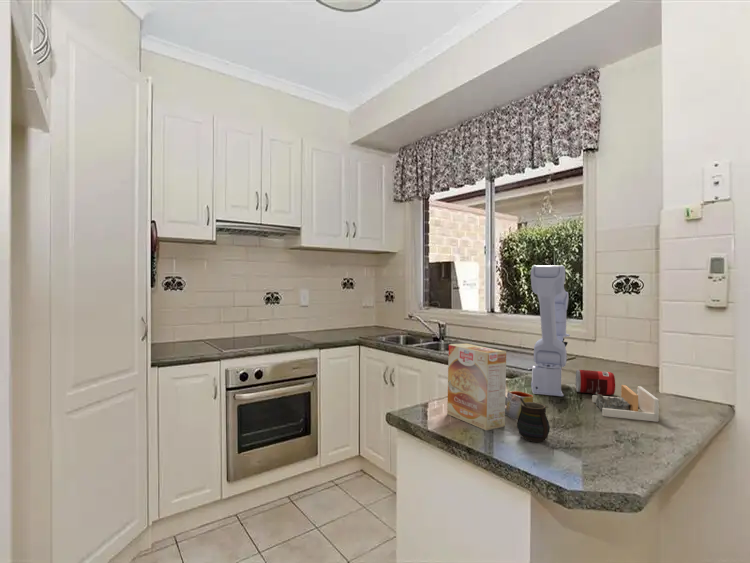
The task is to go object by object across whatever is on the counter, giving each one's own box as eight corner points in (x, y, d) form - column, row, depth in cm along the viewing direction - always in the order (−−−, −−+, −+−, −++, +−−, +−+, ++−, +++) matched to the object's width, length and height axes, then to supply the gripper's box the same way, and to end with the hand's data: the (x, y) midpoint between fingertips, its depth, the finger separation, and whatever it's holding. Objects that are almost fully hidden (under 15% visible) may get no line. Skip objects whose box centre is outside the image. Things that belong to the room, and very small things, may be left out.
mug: (537, 417, 115) (538, 393, 115) (529, 423, 110) (530, 398, 110) (495, 408, 123) (496, 386, 123) (486, 413, 117) (486, 390, 117)
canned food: (609, 374, 146) (575, 371, 149) (614, 370, 139) (578, 367, 142) (611, 397, 143) (575, 393, 147) (616, 393, 136) (578, 390, 140)
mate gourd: (556, 441, 97) (557, 398, 97) (535, 447, 94) (536, 402, 94) (530, 431, 104) (531, 391, 104) (509, 436, 100) (510, 394, 100)
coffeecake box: (446, 414, 116) (447, 344, 116) (465, 410, 120) (466, 342, 120) (485, 431, 103) (487, 352, 103) (506, 426, 107) (507, 350, 107)
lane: (602, 415, 118) (603, 394, 118) (592, 401, 132) (592, 382, 132) (658, 421, 113) (658, 399, 114) (640, 406, 128) (641, 386, 128)
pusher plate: (633, 416, 117) (633, 395, 117) (621, 404, 129) (621, 384, 129) (637, 417, 116) (638, 395, 116) (625, 404, 128) (625, 385, 128)
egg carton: (593, 404, 130) (594, 391, 130) (620, 407, 128) (621, 393, 128) (602, 414, 120) (602, 400, 120) (632, 417, 118) (632, 402, 118)
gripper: (572, 324, 148) (571, 362, 148) (566, 321, 162) (566, 356, 162) (551, 323, 150) (550, 361, 150) (547, 320, 164) (546, 354, 164)
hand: (557, 358), depth 156 cm, fingers open, 7 cm apart
